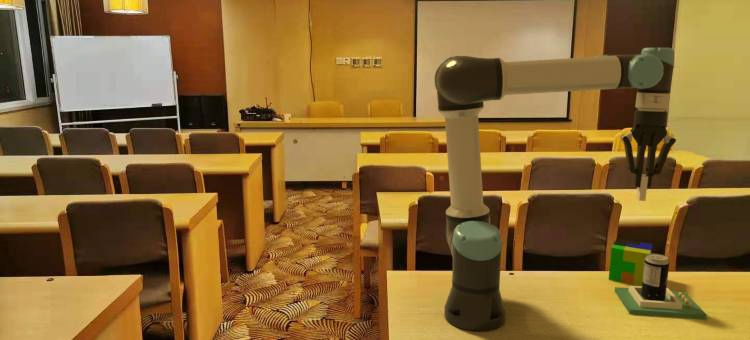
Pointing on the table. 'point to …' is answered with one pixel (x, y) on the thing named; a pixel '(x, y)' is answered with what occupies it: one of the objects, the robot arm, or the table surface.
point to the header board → (659, 304)
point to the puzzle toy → (628, 261)
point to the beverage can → (655, 277)
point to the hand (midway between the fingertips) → (640, 199)
